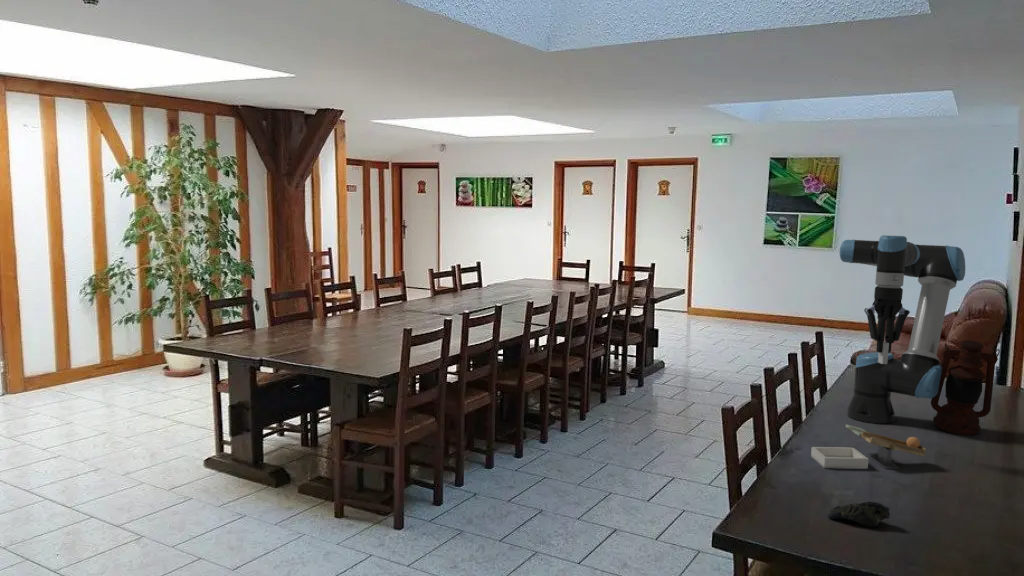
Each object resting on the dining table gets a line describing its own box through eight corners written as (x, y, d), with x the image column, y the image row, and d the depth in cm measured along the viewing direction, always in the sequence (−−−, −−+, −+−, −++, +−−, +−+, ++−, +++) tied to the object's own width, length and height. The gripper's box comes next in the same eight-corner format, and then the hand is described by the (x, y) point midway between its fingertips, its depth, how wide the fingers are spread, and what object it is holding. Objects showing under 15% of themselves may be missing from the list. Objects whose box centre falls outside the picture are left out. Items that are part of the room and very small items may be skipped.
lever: (845, 426, 221) (847, 419, 221) (896, 439, 221) (899, 432, 221) (869, 444, 206) (872, 435, 205) (925, 458, 206) (928, 449, 205)
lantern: (930, 430, 240) (945, 347, 231) (924, 411, 252) (938, 332, 243) (990, 439, 234) (1008, 354, 224) (982, 419, 246) (998, 338, 237)
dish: (811, 456, 215) (811, 446, 215) (852, 457, 215) (853, 447, 214) (824, 468, 206) (824, 458, 205) (867, 468, 205) (868, 458, 205)
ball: (902, 445, 211) (905, 434, 211) (914, 447, 211) (917, 436, 211) (908, 449, 208) (912, 437, 207) (920, 451, 208) (924, 440, 207)
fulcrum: (869, 457, 215) (871, 441, 214) (883, 458, 214) (884, 441, 214) (884, 468, 206) (886, 452, 205) (899, 469, 206) (900, 452, 205)
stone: (826, 512, 177) (826, 491, 176) (886, 519, 172) (887, 498, 172) (828, 523, 170) (829, 502, 170) (890, 532, 166) (892, 510, 165)
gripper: (873, 287, 214) (867, 365, 216) (917, 288, 214) (910, 366, 216) (861, 284, 221) (855, 360, 224) (903, 286, 221) (897, 361, 224)
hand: (882, 363), depth 220 cm, fingers closed
